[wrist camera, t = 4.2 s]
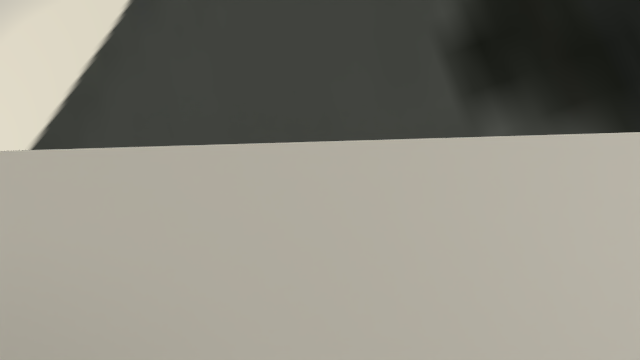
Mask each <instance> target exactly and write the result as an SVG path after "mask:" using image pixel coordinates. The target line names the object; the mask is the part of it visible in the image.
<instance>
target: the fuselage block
mask: <svg viewBox="0 0 640 360" xmlns="http://www.w3.org/2000/svg"><path fill="white" fill-rule="evenodd" d="M0 360H640V132H636V133H601V134H567V135H533V136H499V137H465V138H431V139H397V140H363V141H329V142H295V143H260V144H226V145H192V146H158V147H124V148H90V149H56V150H22V151H0Z"/></svg>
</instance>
